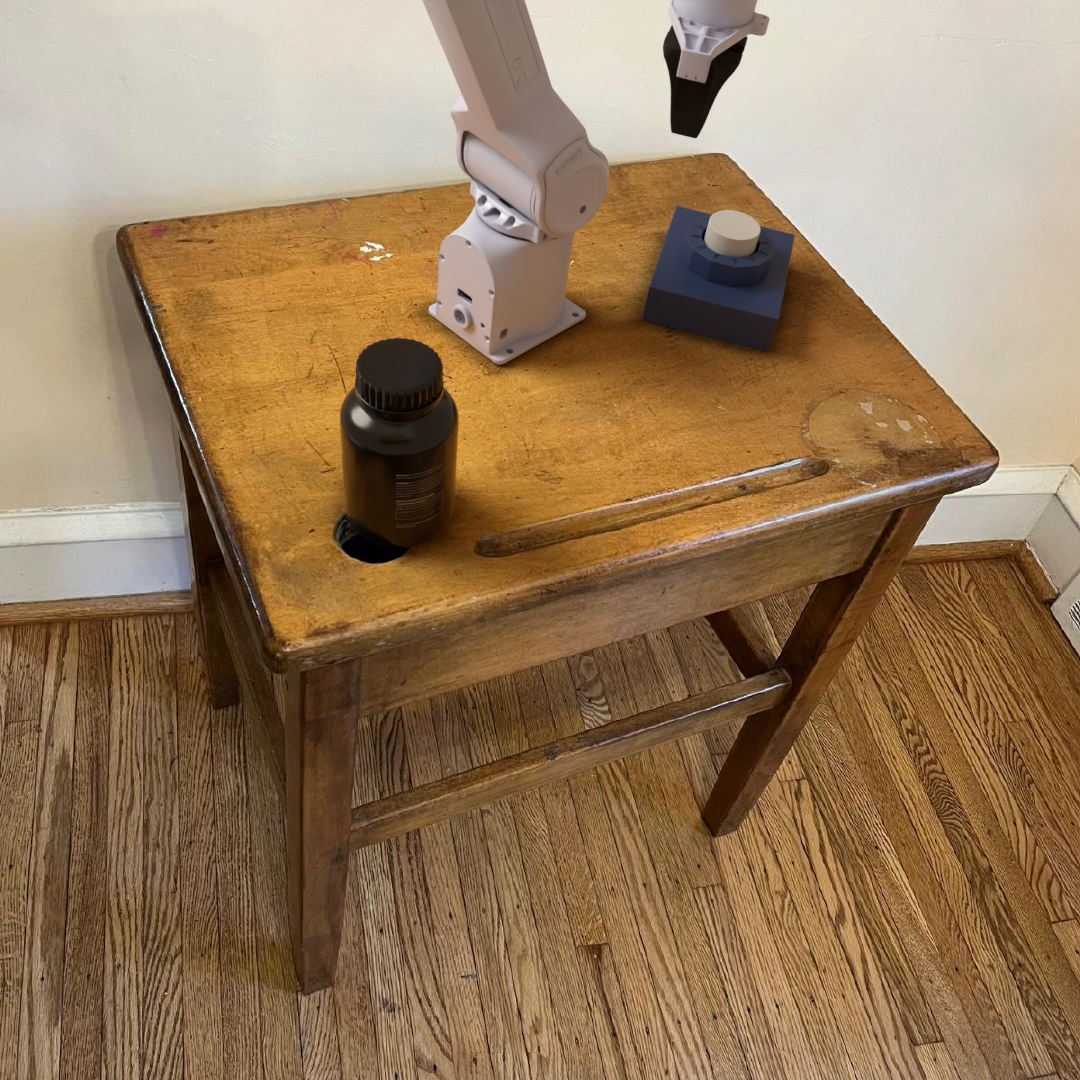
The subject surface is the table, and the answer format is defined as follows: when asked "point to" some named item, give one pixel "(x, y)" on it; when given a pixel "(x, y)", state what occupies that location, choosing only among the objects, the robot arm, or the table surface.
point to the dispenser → (718, 284)
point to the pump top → (732, 233)
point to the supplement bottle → (399, 445)
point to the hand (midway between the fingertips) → (685, 131)
